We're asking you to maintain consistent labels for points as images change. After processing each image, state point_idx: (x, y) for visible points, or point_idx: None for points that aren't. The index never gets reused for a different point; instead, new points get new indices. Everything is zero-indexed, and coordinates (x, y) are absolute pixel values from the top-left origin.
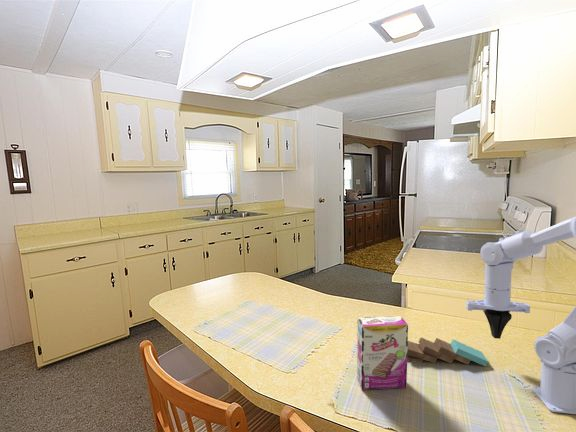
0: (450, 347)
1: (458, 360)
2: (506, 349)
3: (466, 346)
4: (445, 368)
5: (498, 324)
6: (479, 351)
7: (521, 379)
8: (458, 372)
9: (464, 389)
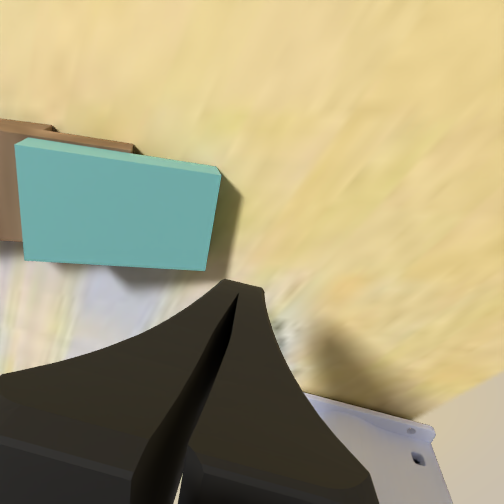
0: (15, 192)
1: None
2: (446, 89)
3: (113, 184)
4: None
5: (182, 472)
6: (203, 183)
7: (295, 343)
8: (73, 278)
9: (66, 359)
